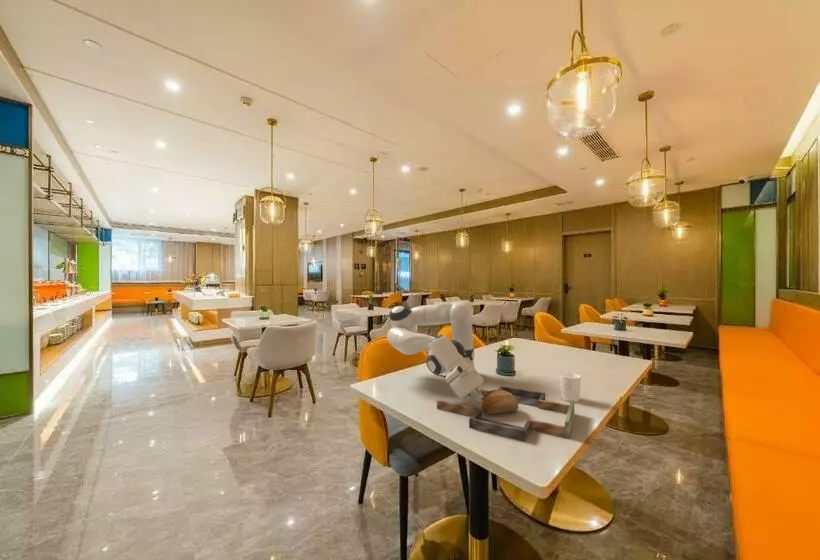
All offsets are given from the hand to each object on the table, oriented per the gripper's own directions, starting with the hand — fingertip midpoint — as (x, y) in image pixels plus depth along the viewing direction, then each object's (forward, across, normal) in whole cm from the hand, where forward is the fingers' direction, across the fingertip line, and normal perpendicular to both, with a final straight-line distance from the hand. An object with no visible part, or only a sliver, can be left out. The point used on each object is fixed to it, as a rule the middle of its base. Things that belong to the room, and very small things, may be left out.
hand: (481, 400), depth 122 cm
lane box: (+8, -4, +3) cm, 9 cm away
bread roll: (+7, -2, +2) cm, 8 cm away
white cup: (+22, -30, +19) cm, 41 cm away
